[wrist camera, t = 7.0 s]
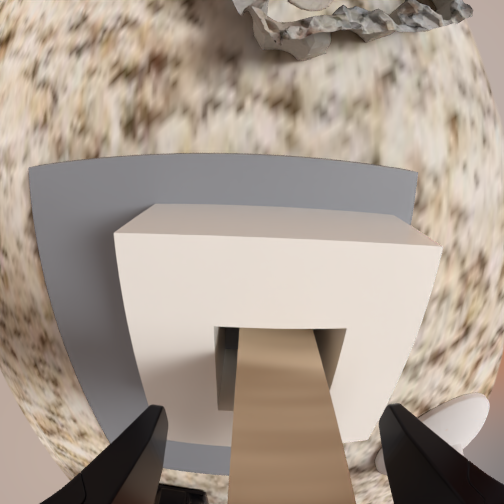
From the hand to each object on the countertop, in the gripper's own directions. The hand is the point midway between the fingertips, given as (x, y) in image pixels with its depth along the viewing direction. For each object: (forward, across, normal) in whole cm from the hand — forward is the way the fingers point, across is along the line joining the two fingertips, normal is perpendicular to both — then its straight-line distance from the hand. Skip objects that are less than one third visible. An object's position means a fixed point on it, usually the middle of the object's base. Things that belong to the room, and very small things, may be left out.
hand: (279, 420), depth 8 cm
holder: (+6, 0, 0) cm, 6 cm away
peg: (+6, 0, 0) cm, 6 cm away
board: (+7, +3, +5) cm, 9 cm away
